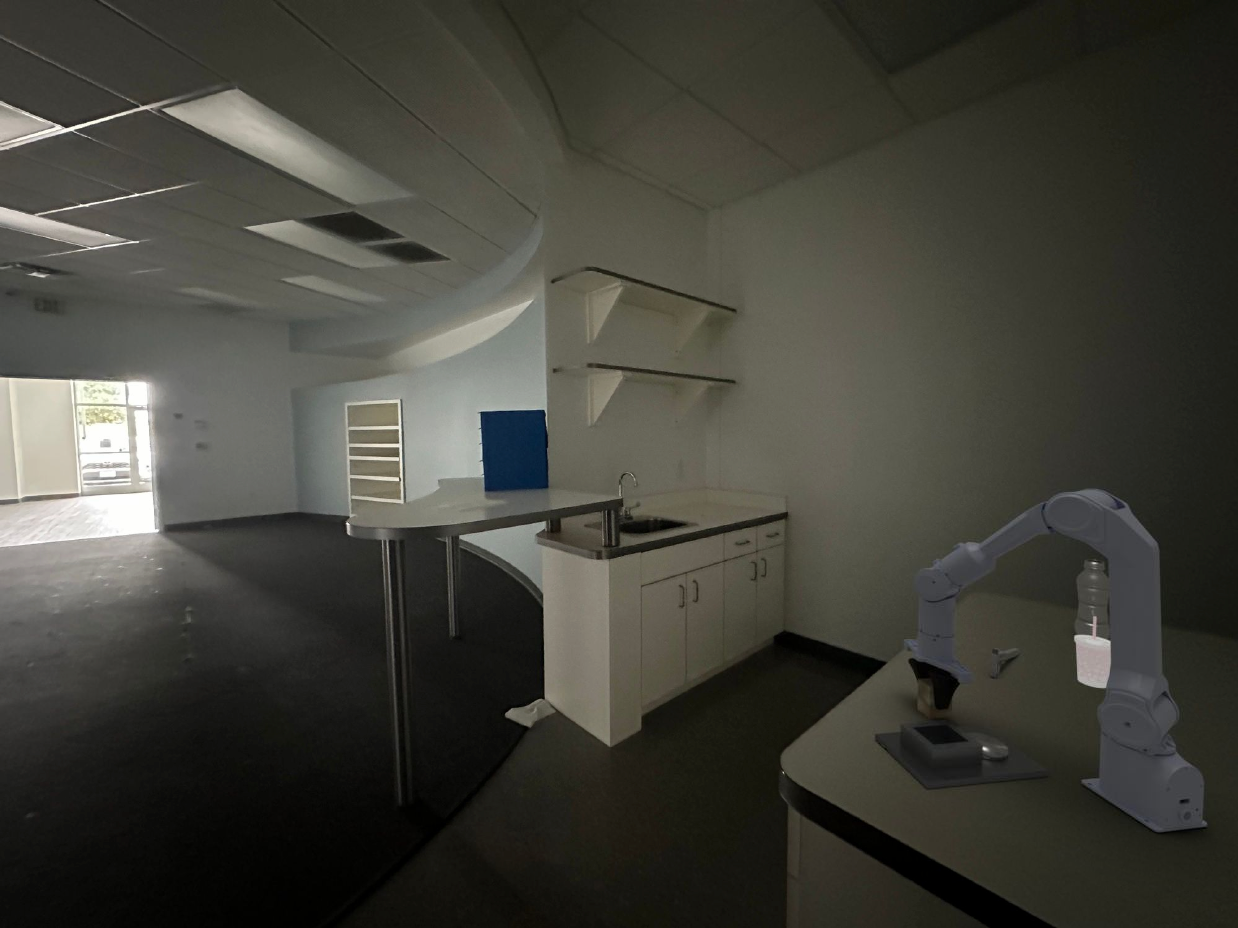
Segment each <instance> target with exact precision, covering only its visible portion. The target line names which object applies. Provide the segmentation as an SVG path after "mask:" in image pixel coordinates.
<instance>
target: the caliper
mask: <svg viewBox="0 0 1238 928" xmlns="http://www.w3.org/2000/svg"><path fill="white" fill-rule="evenodd" d="M991 651H992V652H991V654H990V662H989V677H990V678H995V679H996V678H997V677H999V674H1000V671H1001V665H1002V666H1003V665H1005V664H1006V661H1007V660H1009V659H1012V658H1016V657H1018V656H1020V654H1021V653H1022V651H1021V650H1020V648H1016V647H1013V648H1010V649H1006V650H1004V651H1002V650H1001V649H1000V648H996V647H992V649H991ZM1017 655H1018V656H1017Z"/></svg>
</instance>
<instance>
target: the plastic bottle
mask: <svg viewBox="0 0 1238 928" xmlns="http://www.w3.org/2000/svg"><path fill="white" fill-rule="evenodd" d="M1083 568H1084V570H1083V571H1081V572H1080V573H1079V574H1078V575H1077V577H1076V580H1075V581H1076V582H1075V583H1076V589H1077V596H1078V597H1077V598H1078V599H1077V600H1078V607H1077V608H1078V609H1077V616H1076V618H1075V622H1074V631H1075V633H1076V635H1090V636H1093V616H1096V617H1097V618H1096V637H1100V638H1103V639H1106V640H1110V623H1109V617H1108V606H1109V576H1107V575H1106V573H1105V572H1104V571H1105V569H1106V568H1105V561H1102V560H1097V559H1085V560H1084V563H1083Z"/></svg>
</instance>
